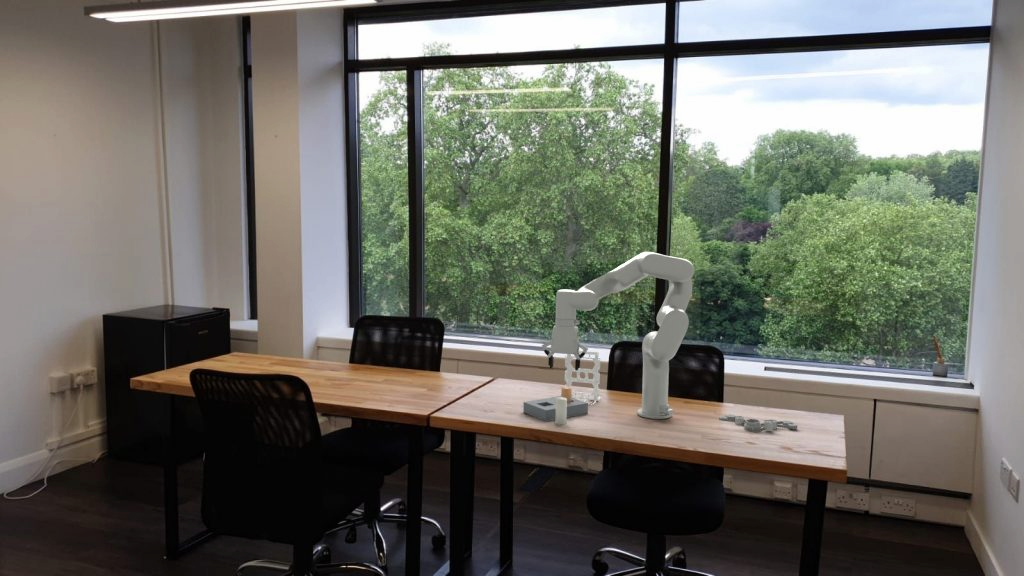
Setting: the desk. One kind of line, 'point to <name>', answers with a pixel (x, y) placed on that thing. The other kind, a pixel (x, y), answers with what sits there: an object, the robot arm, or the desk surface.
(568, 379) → the white plastic rack
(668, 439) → the desk surface
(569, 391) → the peg terracotta
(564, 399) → the peg cream
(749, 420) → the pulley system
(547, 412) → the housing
